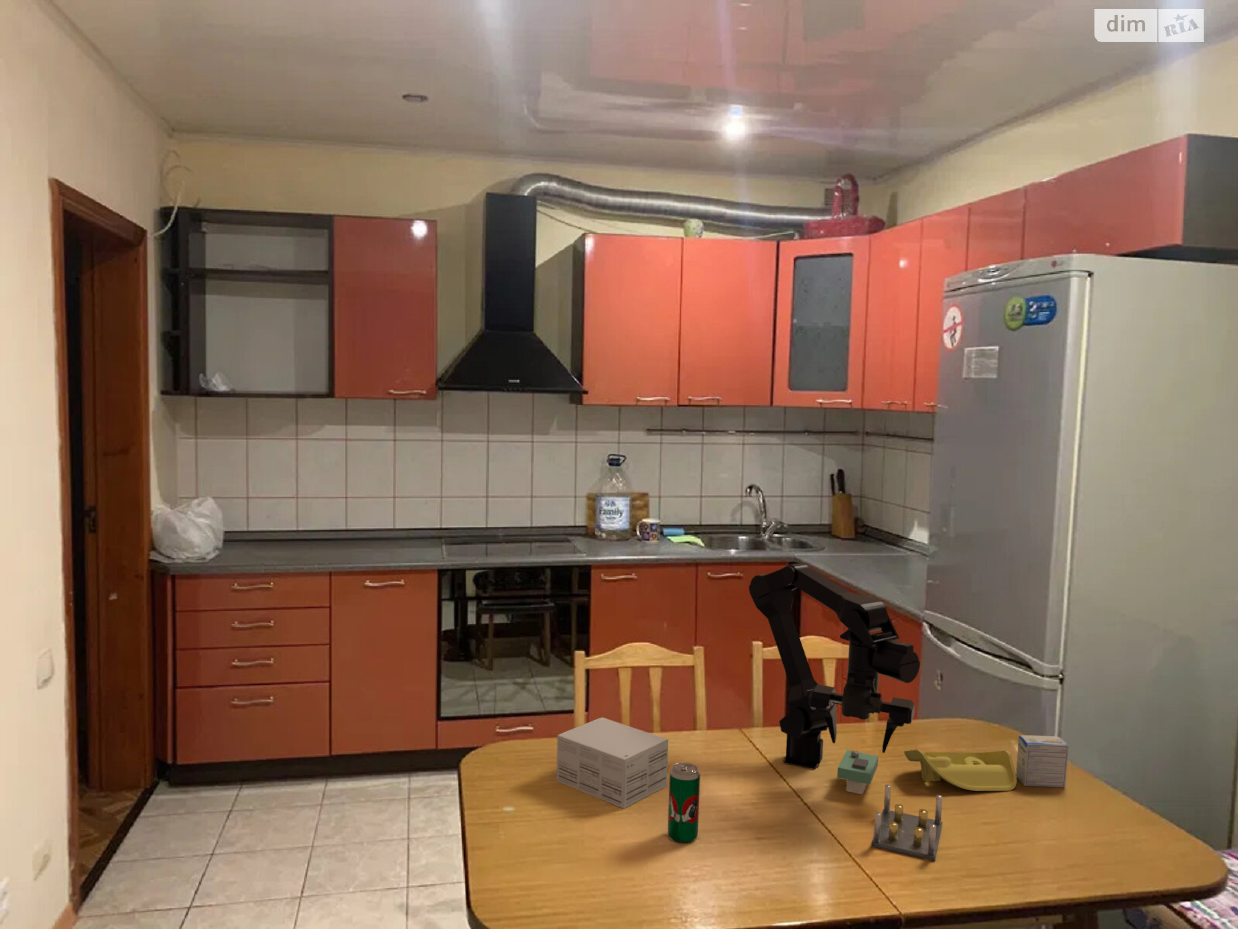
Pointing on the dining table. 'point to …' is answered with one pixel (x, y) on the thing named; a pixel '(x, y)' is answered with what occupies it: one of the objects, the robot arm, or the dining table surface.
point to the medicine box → (1042, 761)
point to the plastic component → (968, 769)
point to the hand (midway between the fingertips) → (858, 747)
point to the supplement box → (612, 761)
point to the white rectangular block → (855, 787)
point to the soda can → (683, 802)
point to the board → (857, 767)
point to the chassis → (907, 830)
